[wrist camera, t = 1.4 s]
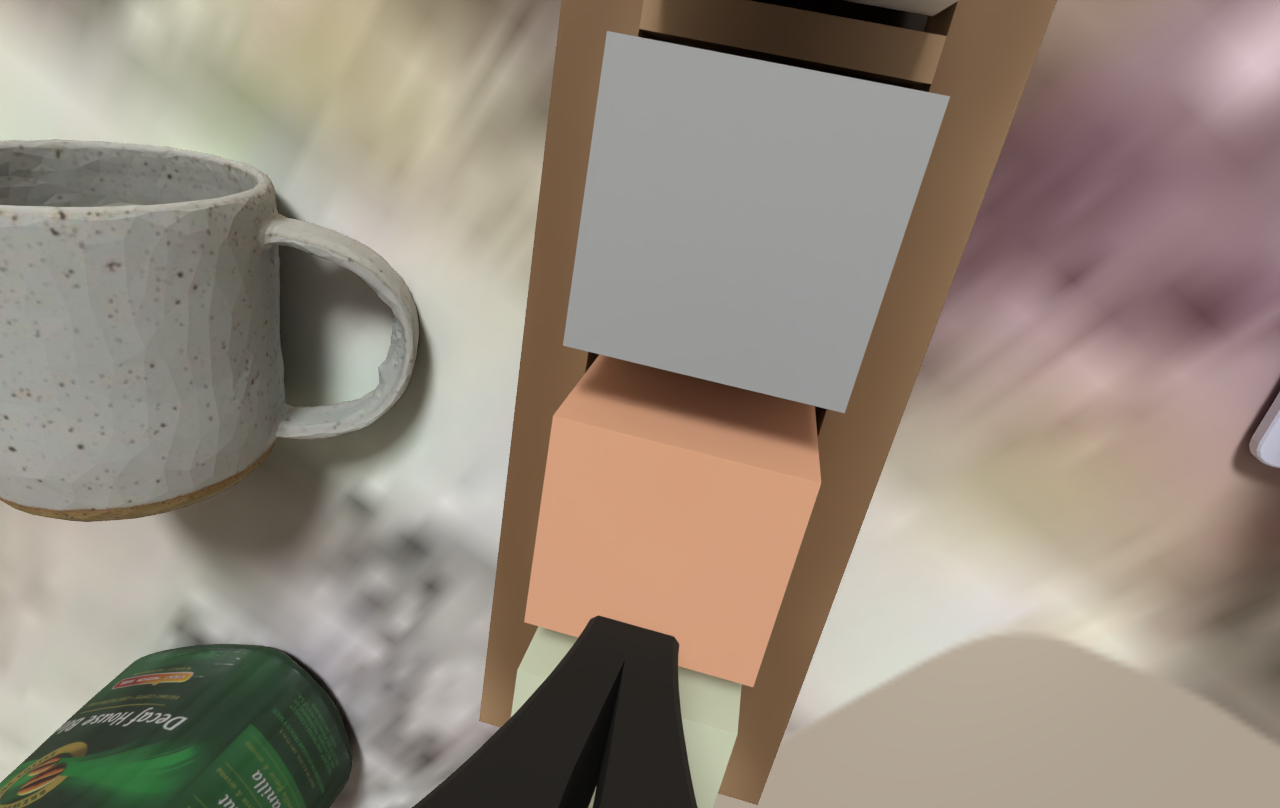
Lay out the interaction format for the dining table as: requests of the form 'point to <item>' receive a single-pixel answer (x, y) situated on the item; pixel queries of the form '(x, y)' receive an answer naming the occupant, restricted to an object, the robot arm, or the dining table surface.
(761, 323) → the key slate
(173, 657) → the coffee jar
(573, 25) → the keypad frame
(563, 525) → the key terracotta
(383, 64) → the dining table surface
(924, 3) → the key ivory
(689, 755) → the key sage
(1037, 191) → the dining table surface
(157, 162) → the ceramic mug
